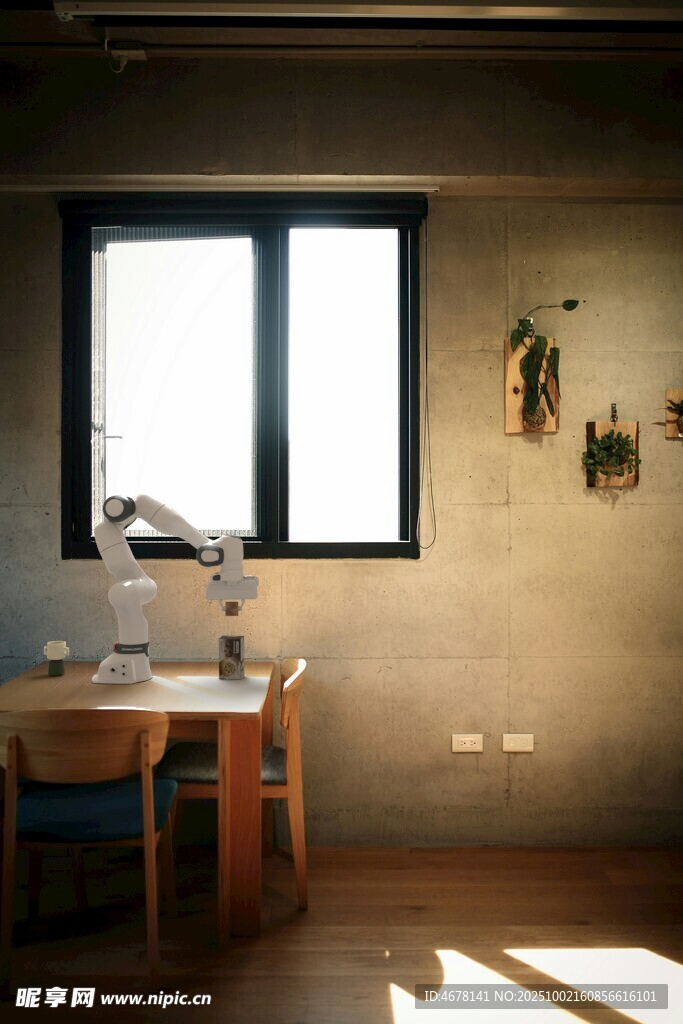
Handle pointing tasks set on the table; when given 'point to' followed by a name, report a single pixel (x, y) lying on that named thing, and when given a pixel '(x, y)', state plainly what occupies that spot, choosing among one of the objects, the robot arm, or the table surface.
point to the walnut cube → (231, 608)
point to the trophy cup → (56, 656)
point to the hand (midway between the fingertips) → (231, 610)
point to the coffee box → (231, 657)
